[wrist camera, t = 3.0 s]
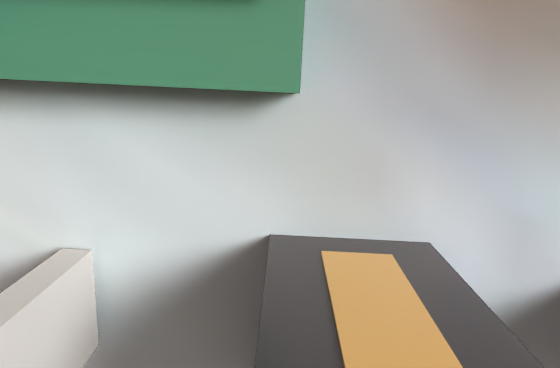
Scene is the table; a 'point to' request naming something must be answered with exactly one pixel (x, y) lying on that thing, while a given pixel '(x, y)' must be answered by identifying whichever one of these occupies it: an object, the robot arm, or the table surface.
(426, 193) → the table surface
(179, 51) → the board
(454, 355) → the plug
